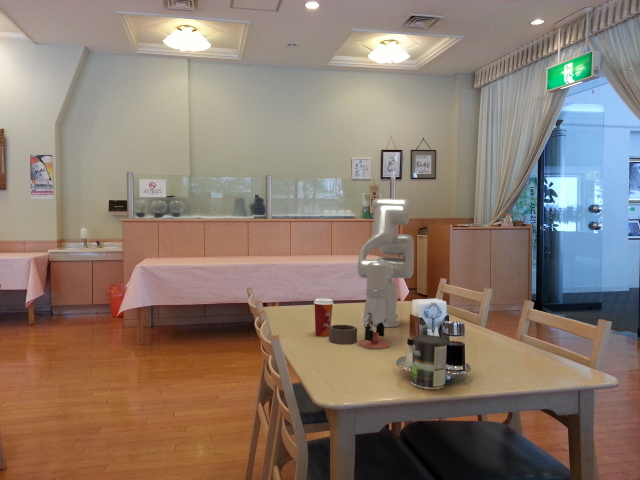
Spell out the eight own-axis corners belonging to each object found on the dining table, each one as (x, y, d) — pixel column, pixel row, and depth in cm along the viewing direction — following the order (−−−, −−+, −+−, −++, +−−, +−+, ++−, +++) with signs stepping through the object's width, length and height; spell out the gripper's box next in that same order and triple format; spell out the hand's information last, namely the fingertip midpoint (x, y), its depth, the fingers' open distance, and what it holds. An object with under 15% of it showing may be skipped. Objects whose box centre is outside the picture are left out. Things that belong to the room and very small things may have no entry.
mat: (368, 341, 217) (368, 340, 217) (393, 345, 212) (393, 344, 212) (355, 347, 208) (355, 345, 208) (381, 351, 202) (381, 350, 202)
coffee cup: (330, 338, 222) (331, 301, 221) (310, 336, 224) (311, 300, 223) (334, 333, 230) (335, 298, 229) (315, 332, 232) (316, 297, 231)
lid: (367, 339, 218) (368, 328, 218) (395, 344, 212) (395, 332, 211) (353, 345, 208) (353, 333, 208) (381, 350, 202) (382, 337, 201)
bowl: (337, 338, 222) (338, 323, 222) (360, 341, 217) (360, 327, 216) (324, 342, 213) (325, 327, 213) (347, 347, 208) (348, 331, 208)
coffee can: (416, 390, 159) (417, 342, 158) (407, 379, 169) (409, 334, 169) (450, 390, 160) (452, 343, 159) (439, 379, 170) (441, 335, 170)
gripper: (377, 290, 218) (375, 333, 219) (356, 295, 203) (355, 340, 204) (394, 292, 214) (392, 335, 215) (374, 297, 199) (373, 343, 200)
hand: (374, 338), depth 209 cm, fingers open, 9 cm apart
